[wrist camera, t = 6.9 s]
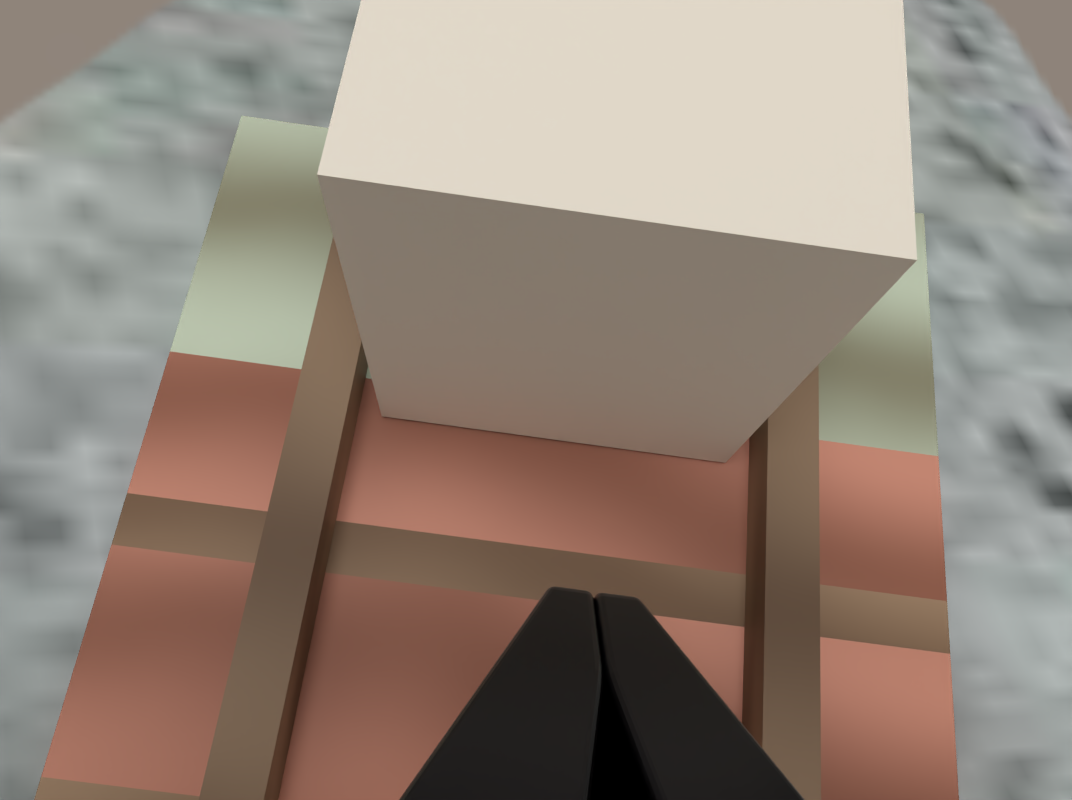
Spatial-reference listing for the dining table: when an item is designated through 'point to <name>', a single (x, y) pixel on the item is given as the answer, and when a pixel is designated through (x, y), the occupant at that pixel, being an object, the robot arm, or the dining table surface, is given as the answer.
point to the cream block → (616, 208)
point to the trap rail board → (485, 547)
